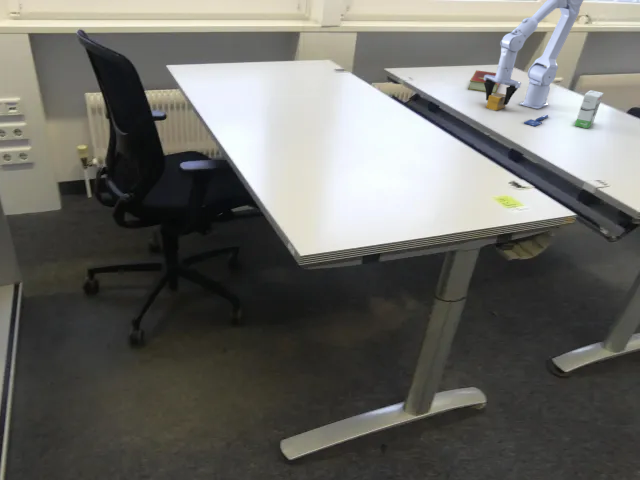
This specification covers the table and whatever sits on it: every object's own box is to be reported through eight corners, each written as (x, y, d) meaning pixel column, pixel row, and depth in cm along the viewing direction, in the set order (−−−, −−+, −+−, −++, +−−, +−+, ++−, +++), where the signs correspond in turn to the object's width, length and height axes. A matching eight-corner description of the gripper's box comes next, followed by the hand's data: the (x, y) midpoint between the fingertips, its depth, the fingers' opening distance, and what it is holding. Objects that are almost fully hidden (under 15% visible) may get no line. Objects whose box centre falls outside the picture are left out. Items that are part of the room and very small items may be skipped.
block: (494, 104, 226) (497, 92, 223) (504, 107, 223) (508, 95, 220) (485, 108, 222) (488, 95, 219) (496, 110, 219) (499, 98, 216)
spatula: (541, 115, 215) (542, 112, 215) (552, 118, 213) (553, 115, 212) (523, 123, 207) (524, 120, 206) (534, 126, 204) (535, 123, 203)
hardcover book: (500, 82, 256) (503, 73, 254) (496, 93, 240) (498, 83, 238) (474, 78, 260) (476, 69, 258) (468, 89, 244) (470, 79, 242)
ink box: (587, 129, 204) (599, 97, 197) (573, 125, 206) (584, 94, 200) (593, 123, 210) (604, 92, 203) (579, 120, 212) (590, 89, 206)
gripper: (483, 64, 216) (475, 99, 223) (518, 72, 207) (508, 108, 214) (492, 62, 220) (484, 96, 227) (527, 69, 211) (517, 105, 219)
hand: (496, 102), depth 221 cm, fingers open, 7 cm apart
